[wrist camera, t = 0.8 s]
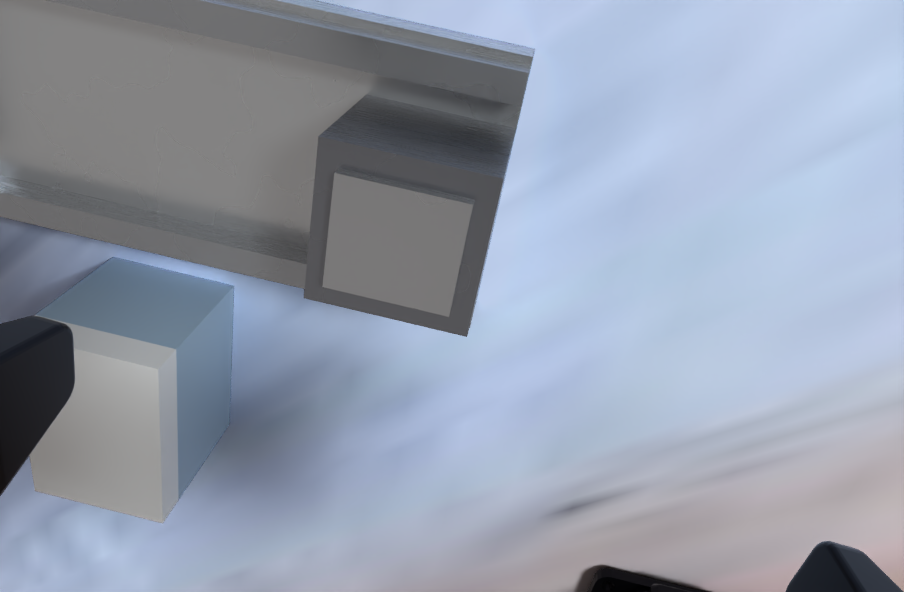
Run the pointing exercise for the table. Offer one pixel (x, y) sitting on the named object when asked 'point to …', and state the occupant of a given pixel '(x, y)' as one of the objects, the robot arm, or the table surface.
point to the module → (138, 388)
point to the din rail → (266, 142)
